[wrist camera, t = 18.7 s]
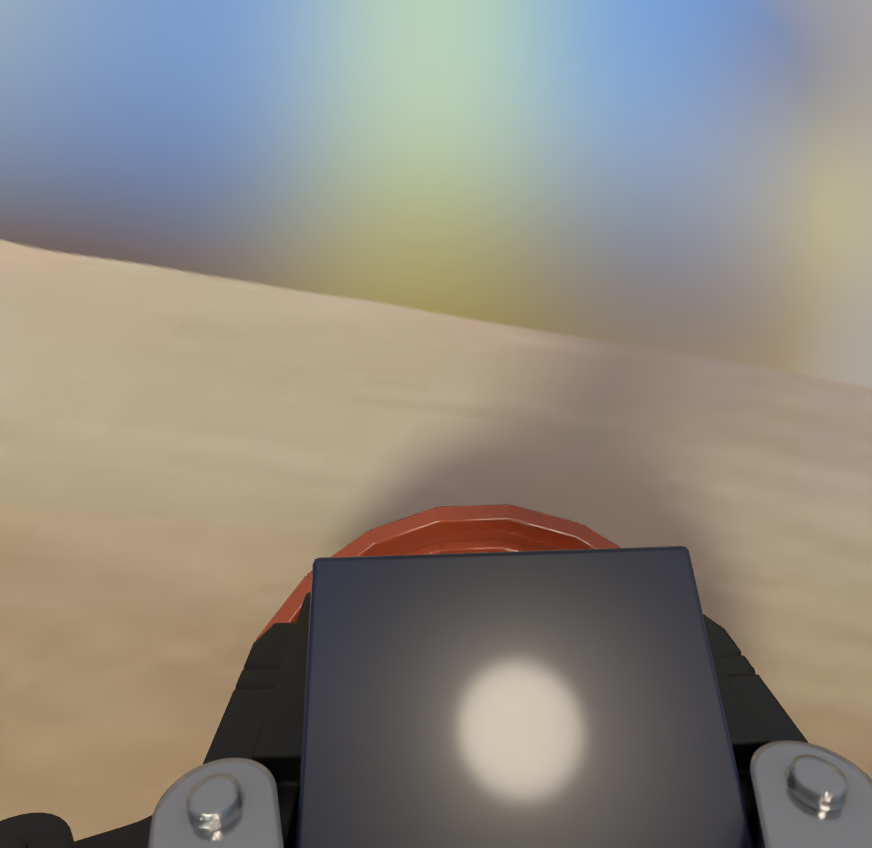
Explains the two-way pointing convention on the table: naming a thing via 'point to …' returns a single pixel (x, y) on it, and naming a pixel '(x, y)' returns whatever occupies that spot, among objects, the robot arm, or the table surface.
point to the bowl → (458, 539)
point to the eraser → (514, 704)
